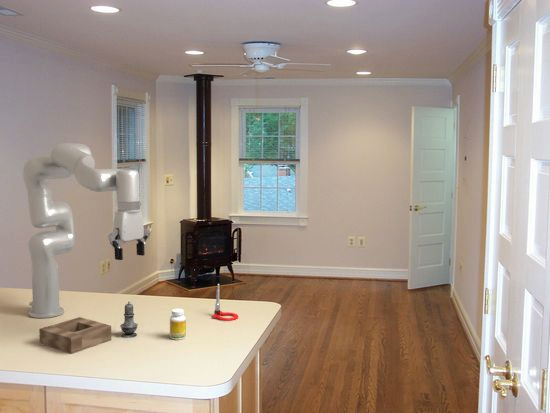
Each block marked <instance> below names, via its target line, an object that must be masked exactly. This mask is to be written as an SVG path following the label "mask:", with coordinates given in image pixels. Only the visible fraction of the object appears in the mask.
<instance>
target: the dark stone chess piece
mask: <svg viewBox="0 0 550 413" xmlns="http://www.w3.org/2000/svg"><path fill="white" fill-rule="evenodd" d="M123 316H124V322H123V323H121V324H120V326H119V327H120V328H121V332H123V333H122V334H121V335H120V337H122V338H124V339H130V338H134V337H135V338H136V337H137V336H138V334H137V333H136V331H137V328H138V324H139V323H136V322H135V320H134V319H135V318H134V317H135V313H134V304H132V303H131V302H130V301H128V303H126V304H125V305H124V314H123Z"/></svg>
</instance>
